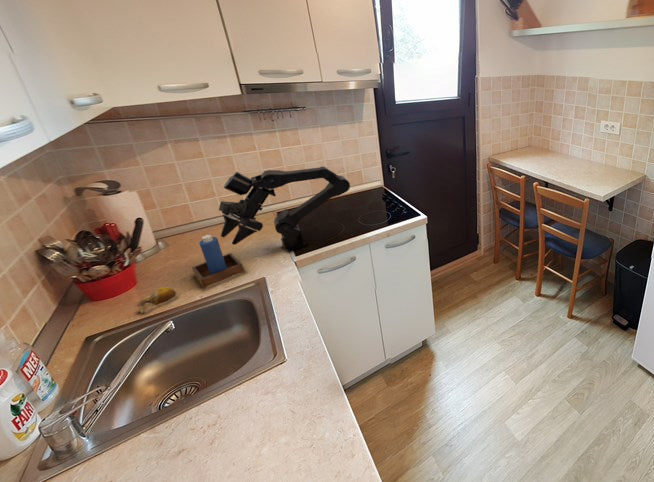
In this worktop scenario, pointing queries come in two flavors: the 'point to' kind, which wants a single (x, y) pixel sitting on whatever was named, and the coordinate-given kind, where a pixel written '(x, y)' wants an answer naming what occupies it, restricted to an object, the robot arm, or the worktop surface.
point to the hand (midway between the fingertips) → (227, 240)
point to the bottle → (212, 254)
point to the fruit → (159, 297)
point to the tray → (208, 279)
